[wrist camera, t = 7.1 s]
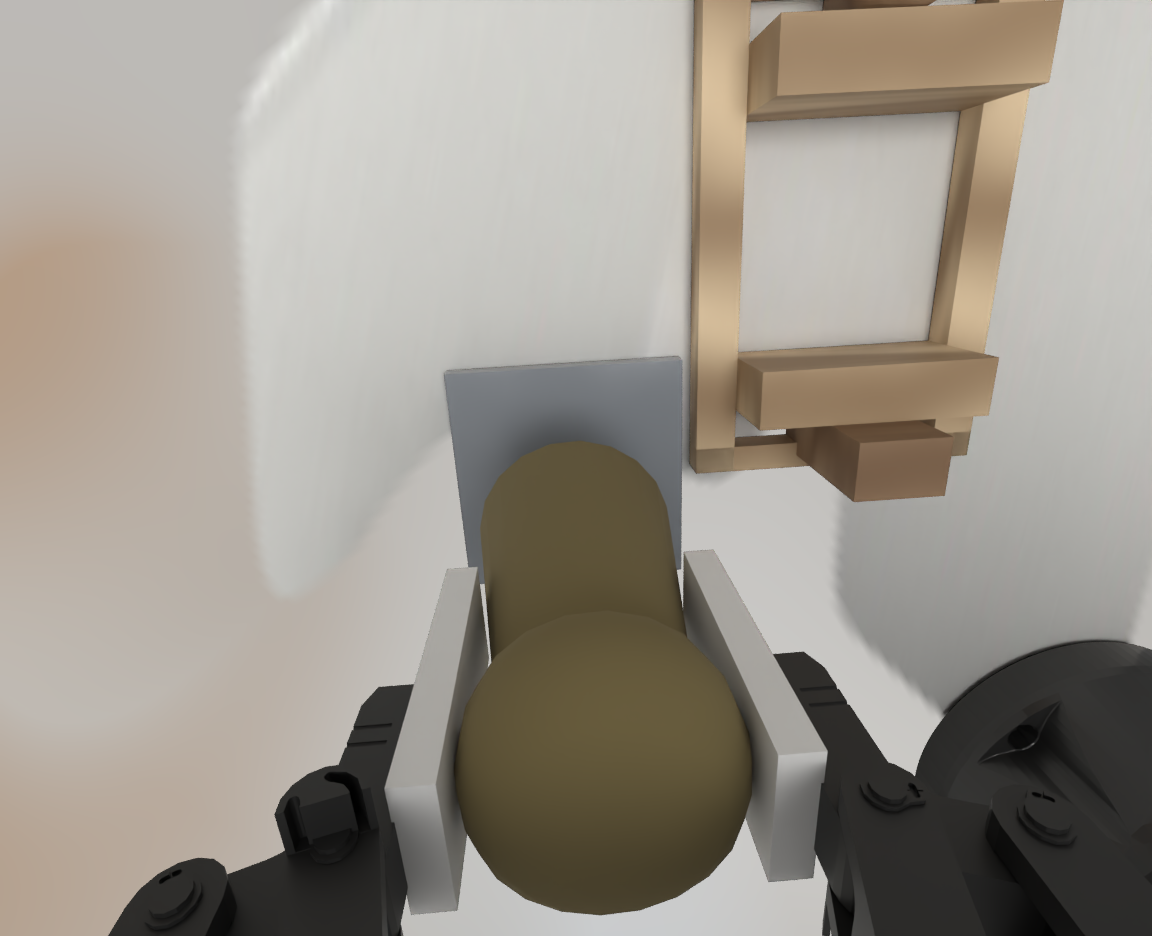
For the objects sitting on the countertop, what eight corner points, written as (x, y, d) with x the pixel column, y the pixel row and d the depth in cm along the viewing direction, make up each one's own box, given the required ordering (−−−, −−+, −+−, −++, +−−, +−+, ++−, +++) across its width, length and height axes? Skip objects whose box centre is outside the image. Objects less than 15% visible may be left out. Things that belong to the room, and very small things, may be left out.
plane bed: (947, 446, 26) (1061, 501, 20) (689, 463, 26) (731, 524, 20) (1027, -48, 20) (1216, -163, 14) (694, -33, 20) (755, -146, 14)
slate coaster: (677, 560, 27) (680, 569, 26) (472, 575, 27) (470, 584, 26) (677, 356, 24) (682, 359, 23) (446, 370, 24) (443, 374, 23)
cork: (605, 402, 18) (689, 609, 8) (701, 552, 20) (871, 875, 10) (441, 507, 19) (325, 816, 9) (548, 641, 21) (556, 1024, 11)
